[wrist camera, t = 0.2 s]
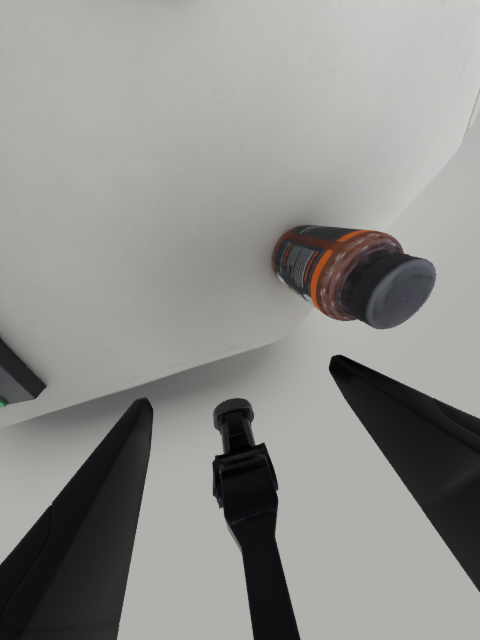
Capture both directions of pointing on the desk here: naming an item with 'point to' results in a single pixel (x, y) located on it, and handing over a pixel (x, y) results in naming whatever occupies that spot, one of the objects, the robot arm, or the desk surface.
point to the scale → (16, 379)
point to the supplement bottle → (353, 274)
